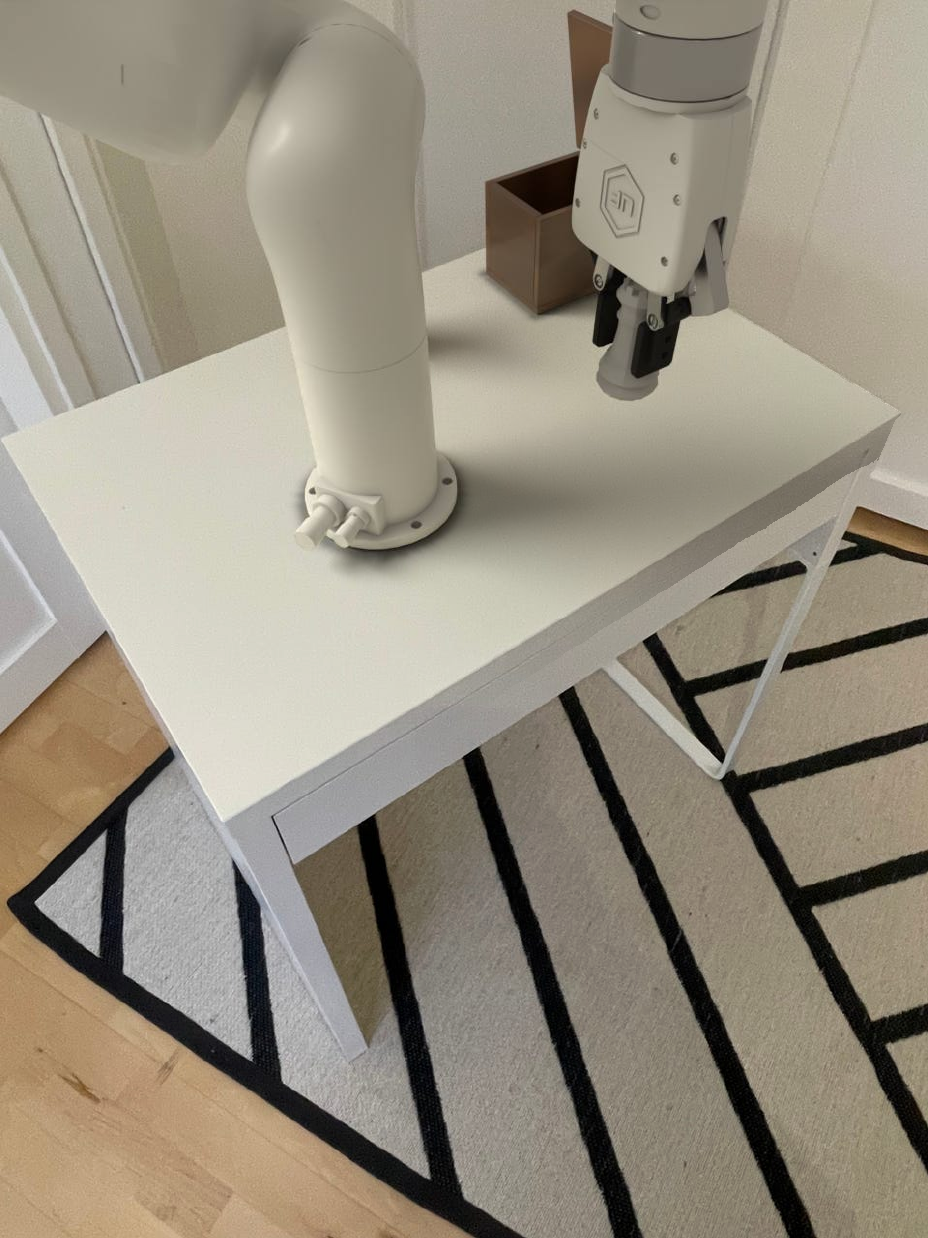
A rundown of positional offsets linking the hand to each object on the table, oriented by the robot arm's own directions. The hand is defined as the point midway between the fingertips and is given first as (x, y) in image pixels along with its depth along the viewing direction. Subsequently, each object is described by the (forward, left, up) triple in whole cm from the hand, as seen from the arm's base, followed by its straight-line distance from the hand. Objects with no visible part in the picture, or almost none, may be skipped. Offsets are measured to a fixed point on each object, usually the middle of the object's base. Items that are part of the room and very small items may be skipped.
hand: (631, 352), depth 59 cm
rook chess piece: (0, 0, -3) cm, 3 cm away
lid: (+34, +15, +2) cm, 37 cm away
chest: (+30, +17, -14) cm, 37 cm away
